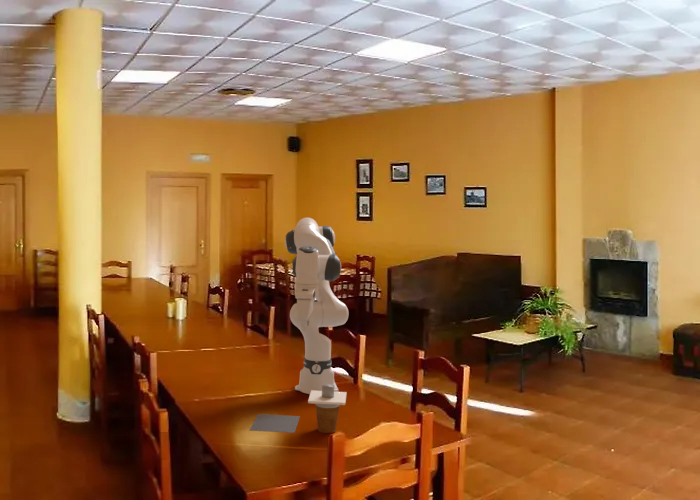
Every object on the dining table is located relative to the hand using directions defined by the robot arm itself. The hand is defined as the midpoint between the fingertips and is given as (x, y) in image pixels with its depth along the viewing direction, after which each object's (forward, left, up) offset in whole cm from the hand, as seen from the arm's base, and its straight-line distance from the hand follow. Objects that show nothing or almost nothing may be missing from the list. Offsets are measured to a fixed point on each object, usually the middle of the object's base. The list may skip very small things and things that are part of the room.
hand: (305, 328), depth 247 cm
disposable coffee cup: (+10, +10, -35) cm, 38 cm away
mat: (+6, -9, -35) cm, 37 cm away
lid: (+10, +10, -23) cm, 27 cm away
